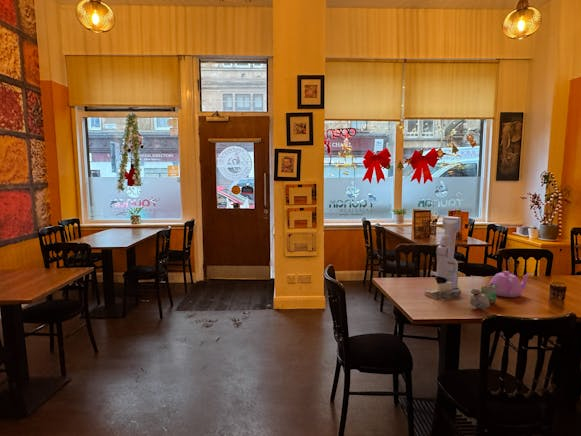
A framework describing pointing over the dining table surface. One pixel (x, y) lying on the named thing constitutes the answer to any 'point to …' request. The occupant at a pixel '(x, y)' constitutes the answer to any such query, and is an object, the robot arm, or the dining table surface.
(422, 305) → the dining table surface
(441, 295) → the frame
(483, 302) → the grey lumpy figure
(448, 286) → the pad
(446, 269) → the robot arm
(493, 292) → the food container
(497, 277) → the teapot
